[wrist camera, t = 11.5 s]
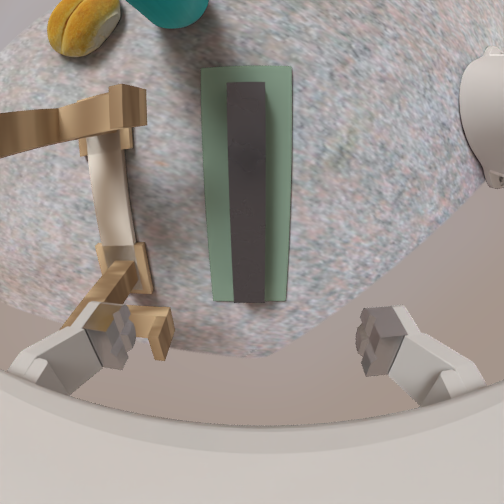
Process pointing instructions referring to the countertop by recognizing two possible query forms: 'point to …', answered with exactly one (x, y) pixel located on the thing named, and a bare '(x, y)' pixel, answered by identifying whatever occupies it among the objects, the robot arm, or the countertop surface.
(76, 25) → the bread roll
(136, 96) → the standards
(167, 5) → the beverage can
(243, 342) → the countertop surface
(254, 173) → the rail
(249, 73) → the mat
